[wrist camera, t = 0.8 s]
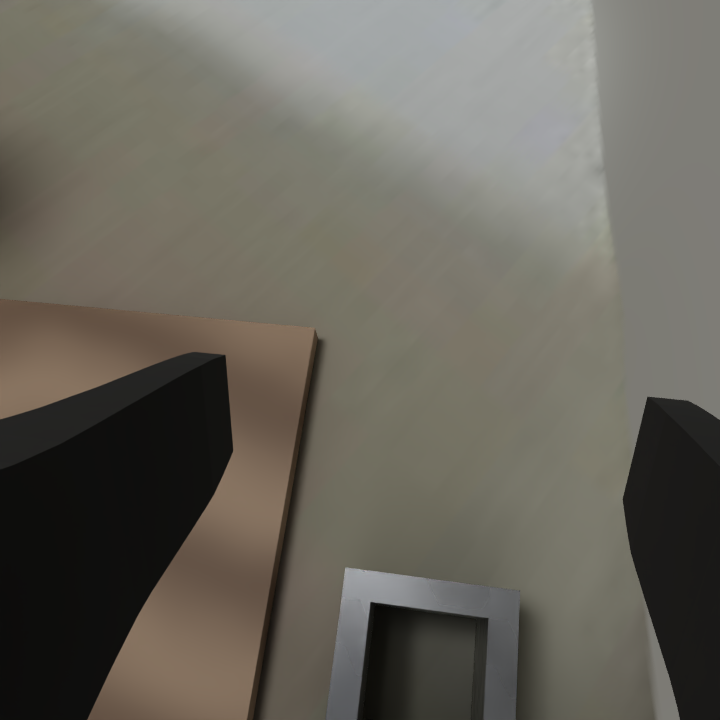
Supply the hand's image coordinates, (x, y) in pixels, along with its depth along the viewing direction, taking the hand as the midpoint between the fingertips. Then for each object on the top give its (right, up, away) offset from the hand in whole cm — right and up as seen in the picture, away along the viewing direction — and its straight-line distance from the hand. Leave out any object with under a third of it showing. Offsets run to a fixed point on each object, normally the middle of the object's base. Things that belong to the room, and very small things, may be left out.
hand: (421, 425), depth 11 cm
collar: (+1, -9, +11) cm, 15 cm away
